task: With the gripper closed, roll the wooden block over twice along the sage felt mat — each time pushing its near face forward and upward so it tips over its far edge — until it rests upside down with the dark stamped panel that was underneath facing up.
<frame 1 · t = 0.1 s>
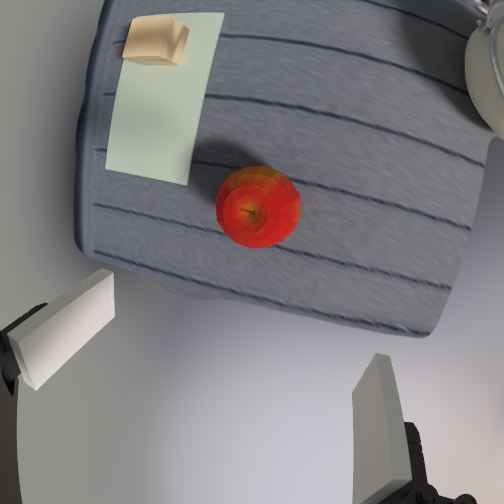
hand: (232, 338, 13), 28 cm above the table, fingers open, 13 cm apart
apple: (268, 196, 39), on the table
wooden block: (166, 47, 34), resting on felt mat
felt mat: (157, 91, 37), on the table
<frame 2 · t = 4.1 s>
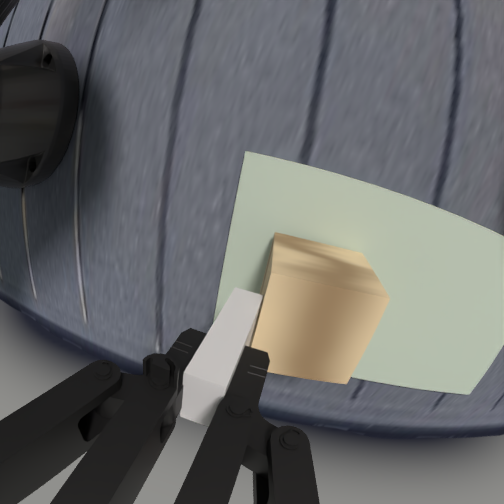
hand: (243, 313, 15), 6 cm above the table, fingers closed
wooden block: (307, 283, 20), point 1 cm above the table, tilted 7°, touching felt mat, gripper
felt mat: (396, 302, 20), on the table
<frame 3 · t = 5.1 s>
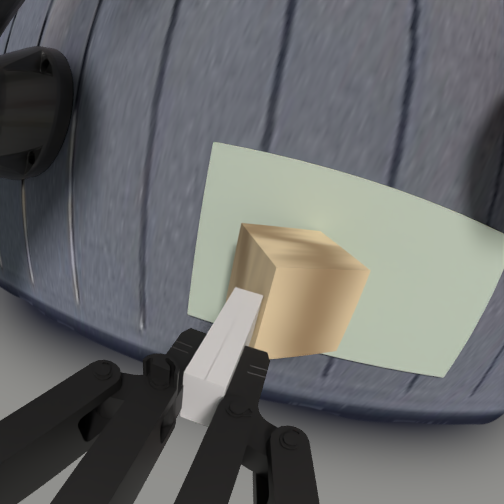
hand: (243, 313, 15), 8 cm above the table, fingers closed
wooden block: (273, 266, 21), point 2 cm above the table, tilted 30°, touching felt mat, gripper
felt mat: (358, 279, 22), on the table
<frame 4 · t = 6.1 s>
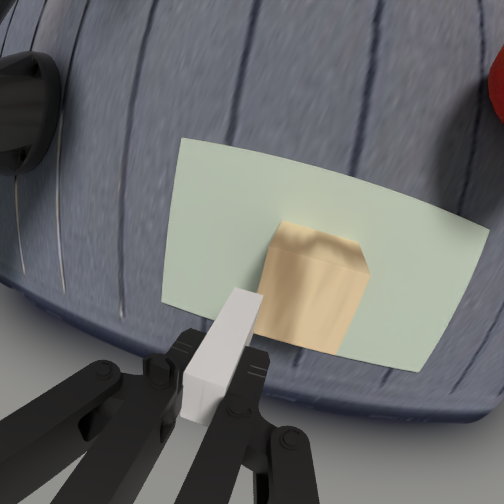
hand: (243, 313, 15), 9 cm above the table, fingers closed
wooden block: (266, 272, 20), point 3 cm above the table, tilted 90°, touching felt mat
felt mat: (322, 268, 23), on the table
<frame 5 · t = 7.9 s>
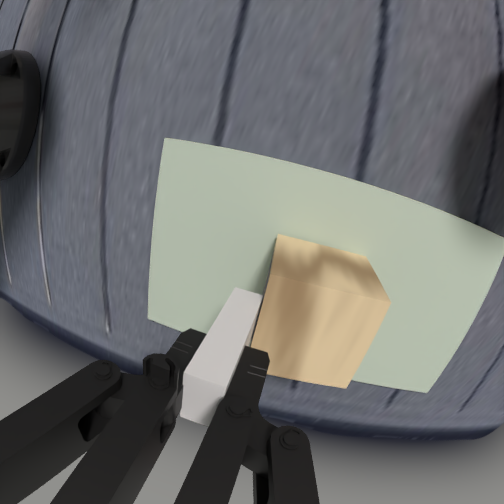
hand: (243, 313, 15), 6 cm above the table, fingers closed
wooden block: (262, 297, 17), point 4 cm above the table, tilted 95°, touching felt mat, gripper
felt mat: (324, 285, 20), on the table
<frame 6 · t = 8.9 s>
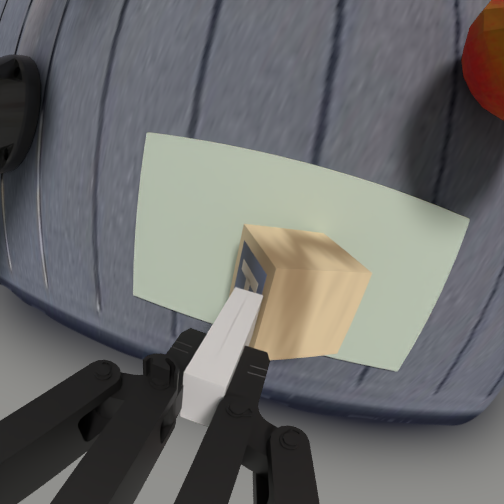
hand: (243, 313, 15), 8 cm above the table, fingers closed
apple: (484, 80, 14), on the table
wooden block: (246, 289, 18), point 6 cm above the table, tilted 119°, touching felt mat, gripper
felt mat: (287, 261, 23), on the table
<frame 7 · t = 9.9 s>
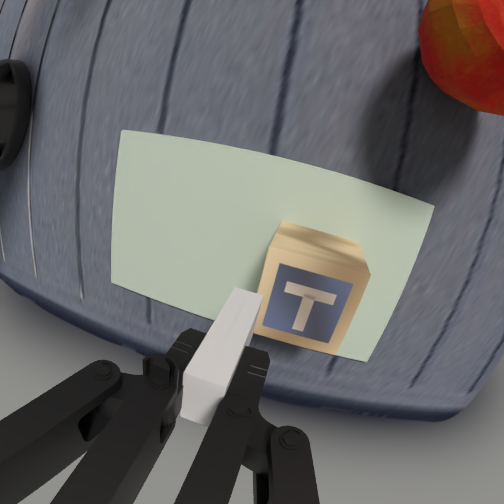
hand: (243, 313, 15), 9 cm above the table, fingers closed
apple: (449, 66, 15), on the table
wooden block: (306, 306, 17), point 6 cm above the table, tilted 180°, touching felt mat
felt mat: (249, 248, 24), on the table
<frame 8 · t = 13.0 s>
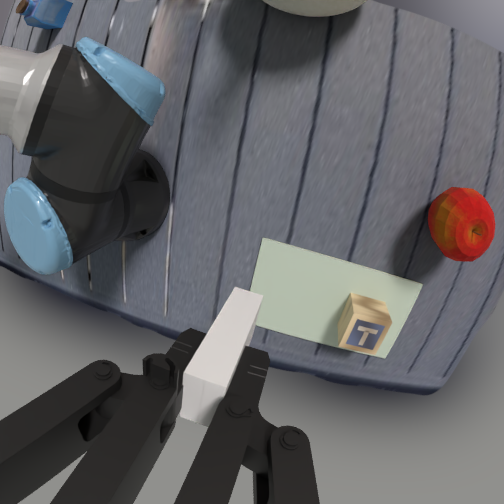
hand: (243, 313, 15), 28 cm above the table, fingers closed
apple: (443, 212, 37), on the table
wooden block: (365, 335, 39), point 6 cm above the table, tilted 180°, touching felt mat
felt mat: (331, 304, 45), on the table
blue corked bottle: (60, 16, 37), on the table
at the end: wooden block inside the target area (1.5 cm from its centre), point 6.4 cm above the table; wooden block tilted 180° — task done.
